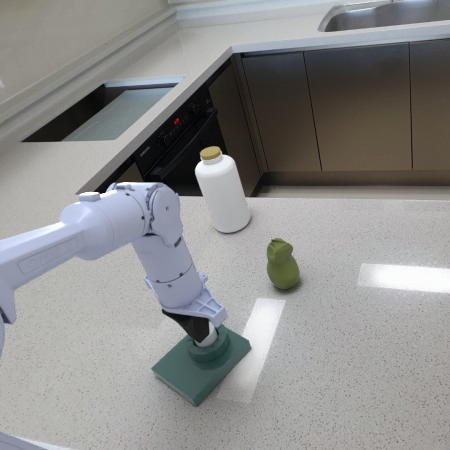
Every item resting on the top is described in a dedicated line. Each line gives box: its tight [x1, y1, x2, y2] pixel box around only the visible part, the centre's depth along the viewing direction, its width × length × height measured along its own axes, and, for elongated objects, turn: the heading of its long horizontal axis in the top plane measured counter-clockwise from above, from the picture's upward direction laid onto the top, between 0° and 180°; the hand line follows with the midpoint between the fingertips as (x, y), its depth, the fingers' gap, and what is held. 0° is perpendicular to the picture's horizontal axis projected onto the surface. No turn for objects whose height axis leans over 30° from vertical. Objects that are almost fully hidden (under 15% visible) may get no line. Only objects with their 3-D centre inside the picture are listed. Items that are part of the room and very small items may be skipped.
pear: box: [266, 237, 301, 290], centre depth 80 cm, size 6×5×10 cm
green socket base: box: [150, 319, 252, 407], centre depth 71 cm, size 12×10×4 cm
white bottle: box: [194, 145, 251, 234], centre depth 96 cm, size 8×8×18 cm
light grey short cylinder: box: [194, 322, 218, 348], centre depth 71 cm, size 4×4×2 cm
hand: (201, 336), depth 65 cm, fingers closed
